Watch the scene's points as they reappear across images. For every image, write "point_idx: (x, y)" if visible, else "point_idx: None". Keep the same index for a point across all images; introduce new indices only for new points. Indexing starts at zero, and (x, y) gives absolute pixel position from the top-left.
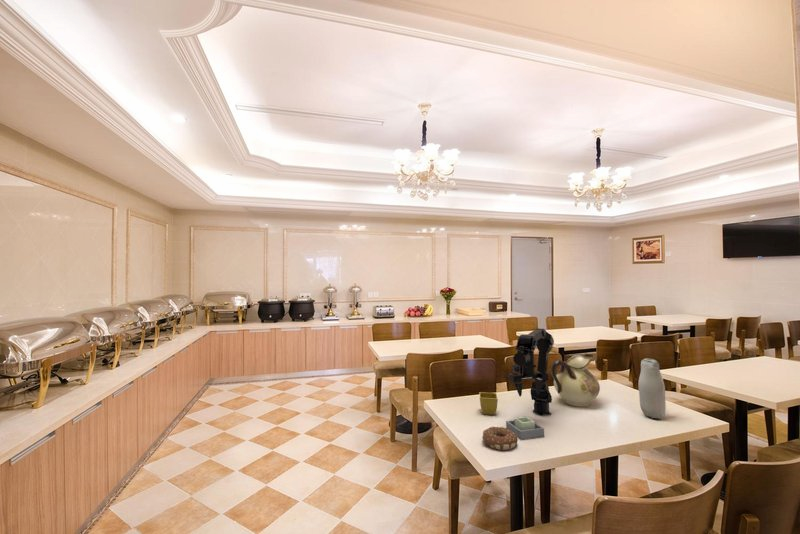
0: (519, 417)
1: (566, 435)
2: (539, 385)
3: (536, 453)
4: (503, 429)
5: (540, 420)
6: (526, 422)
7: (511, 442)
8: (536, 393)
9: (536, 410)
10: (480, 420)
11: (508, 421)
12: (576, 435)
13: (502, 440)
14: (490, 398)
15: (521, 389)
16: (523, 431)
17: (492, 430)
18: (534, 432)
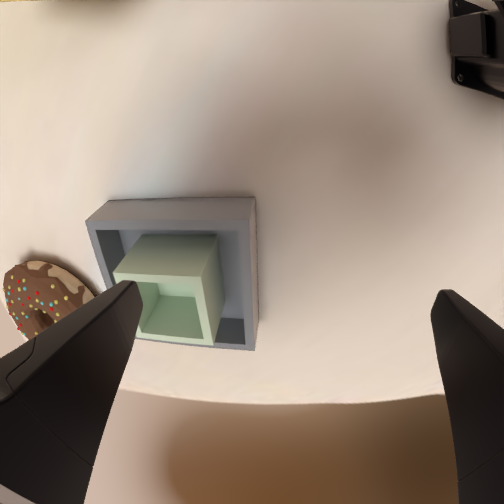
0: (145, 276)
1: (367, 331)
2: (469, 459)
3: (160, 378)
4: (56, 319)
5: (399, 142)
6: (160, 338)
7: None
8: (443, 299)
9: (457, 47)
10: (27, 73)
11: (96, 229)
12: (403, 338)
13: None
14: (3, 1)
15: (97, 423)
16: (139, 338)
17: (23, 309)
18: None
